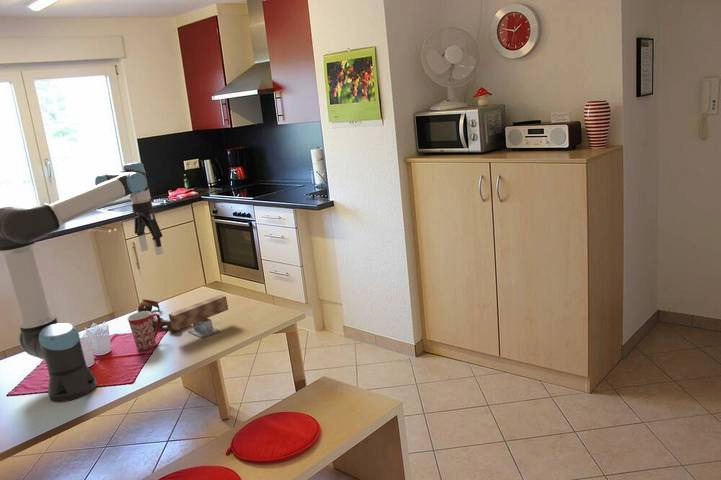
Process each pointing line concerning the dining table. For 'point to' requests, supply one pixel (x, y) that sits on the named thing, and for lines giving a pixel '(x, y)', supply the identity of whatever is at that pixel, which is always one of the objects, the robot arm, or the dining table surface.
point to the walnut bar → (198, 312)
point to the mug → (144, 329)
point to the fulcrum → (203, 328)
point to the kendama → (163, 324)
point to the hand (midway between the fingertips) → (152, 252)
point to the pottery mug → (147, 305)
